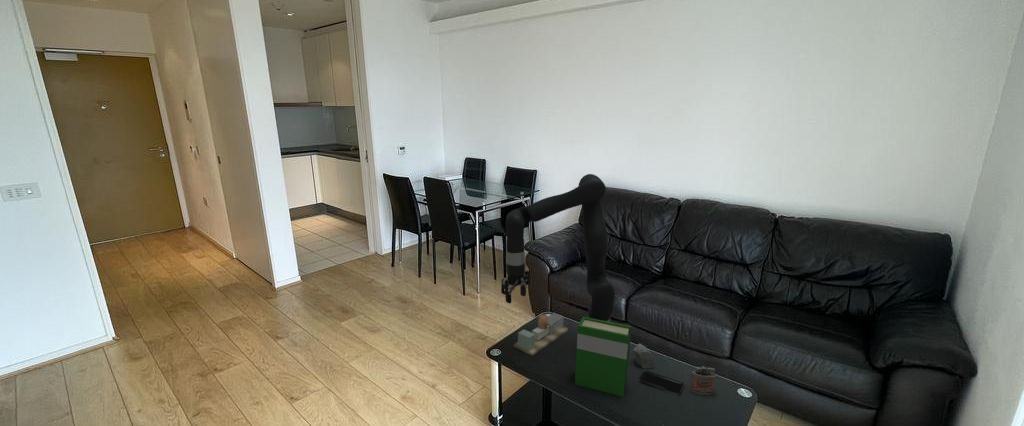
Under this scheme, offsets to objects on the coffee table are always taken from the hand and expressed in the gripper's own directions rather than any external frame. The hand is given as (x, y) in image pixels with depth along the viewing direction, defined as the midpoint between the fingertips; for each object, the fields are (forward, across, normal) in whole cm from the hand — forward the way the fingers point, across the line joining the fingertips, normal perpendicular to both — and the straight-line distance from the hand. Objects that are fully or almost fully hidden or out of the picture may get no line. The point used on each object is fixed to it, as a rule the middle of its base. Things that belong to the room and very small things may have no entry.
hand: (516, 299), depth 170 cm
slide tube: (+23, +20, 0) cm, 30 cm away
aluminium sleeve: (+24, +24, 0) cm, 34 cm away
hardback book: (+25, +6, -36) cm, 45 cm away
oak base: (+25, +16, -1) cm, 29 cm away
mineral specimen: (+26, +28, -42) cm, 57 cm away
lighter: (+26, +28, -65) cm, 76 cm away
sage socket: (+24, +5, -1) cm, 24 cm away
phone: (+26, +22, -52) cm, 63 cm away
